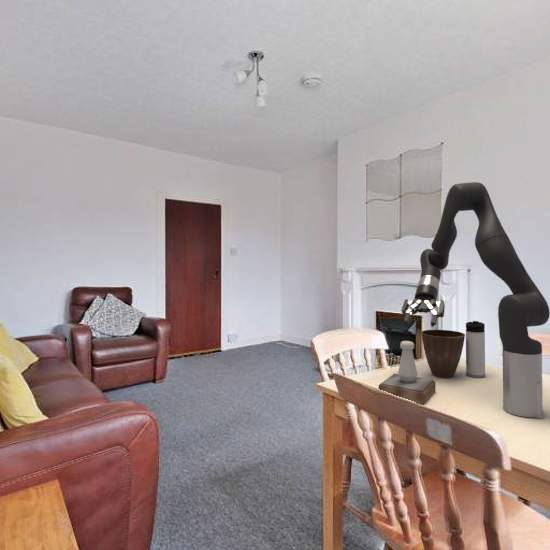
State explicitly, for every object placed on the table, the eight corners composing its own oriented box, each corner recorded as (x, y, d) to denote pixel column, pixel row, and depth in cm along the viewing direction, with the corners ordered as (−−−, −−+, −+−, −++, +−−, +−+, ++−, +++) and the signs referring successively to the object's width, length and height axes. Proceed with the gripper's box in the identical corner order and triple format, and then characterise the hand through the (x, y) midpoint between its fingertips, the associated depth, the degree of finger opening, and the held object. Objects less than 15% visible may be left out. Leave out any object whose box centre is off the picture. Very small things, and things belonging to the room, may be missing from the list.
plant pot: (452, 368, 146) (452, 329, 146) (473, 380, 131) (473, 336, 131) (415, 370, 146) (414, 330, 145) (432, 382, 131) (432, 337, 131)
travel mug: (485, 374, 139) (485, 321, 138) (484, 379, 133) (484, 324, 132) (467, 371, 142) (466, 320, 141) (465, 376, 136) (464, 322, 136)
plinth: (435, 391, 121) (435, 379, 121) (423, 404, 110) (423, 391, 110) (393, 384, 130) (393, 372, 130) (378, 395, 119) (378, 383, 119)
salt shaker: (418, 384, 117) (417, 343, 117) (399, 383, 118) (398, 343, 118) (415, 378, 123) (414, 339, 122) (397, 377, 124) (396, 339, 124)
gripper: (405, 283, 141) (396, 316, 132) (445, 283, 132) (438, 319, 123) (410, 296, 145) (401, 329, 136) (449, 296, 137) (442, 332, 128)
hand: (419, 324), depth 130 cm, fingers open, 8 cm apart
